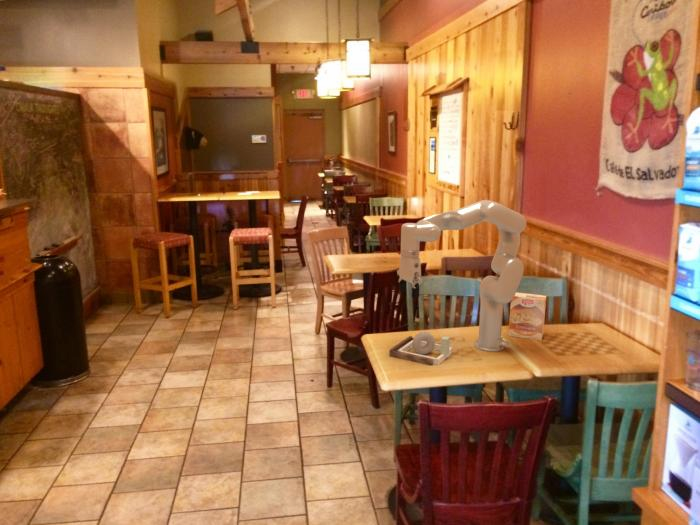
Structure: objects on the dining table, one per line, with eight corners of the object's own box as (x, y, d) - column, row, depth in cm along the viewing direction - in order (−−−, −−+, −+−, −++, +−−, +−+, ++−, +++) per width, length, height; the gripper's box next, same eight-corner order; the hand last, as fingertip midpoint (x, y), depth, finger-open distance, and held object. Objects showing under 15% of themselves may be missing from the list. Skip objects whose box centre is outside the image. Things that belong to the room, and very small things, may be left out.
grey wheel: (413, 356, 246) (414, 334, 244) (410, 353, 250) (411, 331, 247) (435, 354, 249) (436, 332, 247) (432, 351, 252) (433, 329, 250)
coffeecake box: (507, 336, 272) (510, 295, 268) (509, 331, 279) (512, 291, 274) (541, 340, 267) (545, 299, 262) (543, 335, 273) (546, 295, 269)
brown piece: (449, 350, 254) (449, 344, 253) (431, 366, 237) (431, 359, 236) (409, 342, 263) (409, 336, 262) (389, 356, 246) (389, 349, 246)
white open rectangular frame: (454, 352, 251) (455, 332, 249) (439, 365, 237) (440, 344, 235) (413, 344, 260) (414, 324, 258) (396, 356, 246) (397, 335, 244)
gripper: (429, 256, 234) (428, 298, 237) (406, 249, 249) (405, 288, 252) (414, 258, 230) (412, 300, 234) (390, 250, 245) (390, 290, 249)
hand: (408, 294), depth 243 cm, fingers open, 9 cm apart
